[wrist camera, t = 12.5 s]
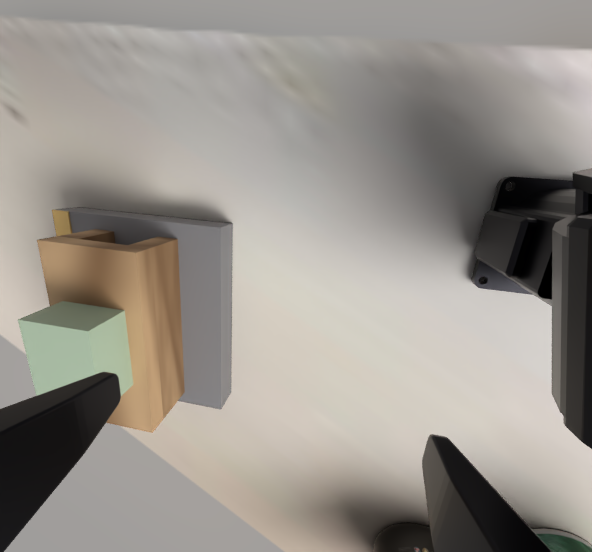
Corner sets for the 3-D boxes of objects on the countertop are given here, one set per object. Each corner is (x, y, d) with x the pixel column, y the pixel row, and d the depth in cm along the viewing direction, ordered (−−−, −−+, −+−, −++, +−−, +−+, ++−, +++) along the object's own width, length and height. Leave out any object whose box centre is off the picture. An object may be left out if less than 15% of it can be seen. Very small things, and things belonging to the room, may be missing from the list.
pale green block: (124, 310, 17) (88, 331, 15) (133, 384, 18) (101, 414, 16) (62, 300, 17) (17, 319, 15) (76, 373, 19) (37, 400, 17)
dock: (232, 223, 21) (219, 228, 19) (231, 392, 25) (220, 410, 23) (78, 207, 22) (52, 209, 20) (102, 367, 27) (82, 382, 25)
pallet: (177, 239, 19) (136, 252, 16) (184, 391, 23) (152, 432, 19) (95, 229, 20) (37, 240, 16) (115, 378, 24) (71, 414, 20)
